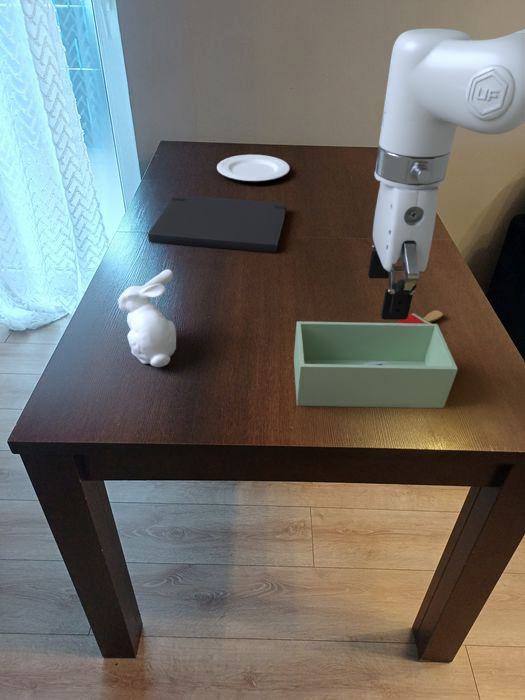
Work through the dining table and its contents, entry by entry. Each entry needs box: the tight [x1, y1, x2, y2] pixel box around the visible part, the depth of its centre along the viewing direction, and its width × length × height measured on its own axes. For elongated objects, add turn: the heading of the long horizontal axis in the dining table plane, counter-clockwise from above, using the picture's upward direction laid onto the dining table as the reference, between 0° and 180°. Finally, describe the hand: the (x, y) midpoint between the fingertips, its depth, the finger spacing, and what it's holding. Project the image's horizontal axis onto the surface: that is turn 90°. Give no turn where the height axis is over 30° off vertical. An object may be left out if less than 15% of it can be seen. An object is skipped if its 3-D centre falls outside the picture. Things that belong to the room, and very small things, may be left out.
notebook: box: [147, 194, 287, 254], centre depth 114 cm, size 22×2×28 cm
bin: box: [293, 320, 458, 409], centre depth 72 cm, size 21×10×8 cm, turn 90°
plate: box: [216, 154, 291, 184], centre depth 141 cm, size 21×21×2 cm
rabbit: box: [117, 269, 177, 368], centre depth 76 cm, size 12×9×12 cm
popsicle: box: [397, 309, 444, 324], centre depth 85 cm, size 5×2×15 cm
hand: (386, 296), depth 65 cm, fingers open, 9 cm apart
